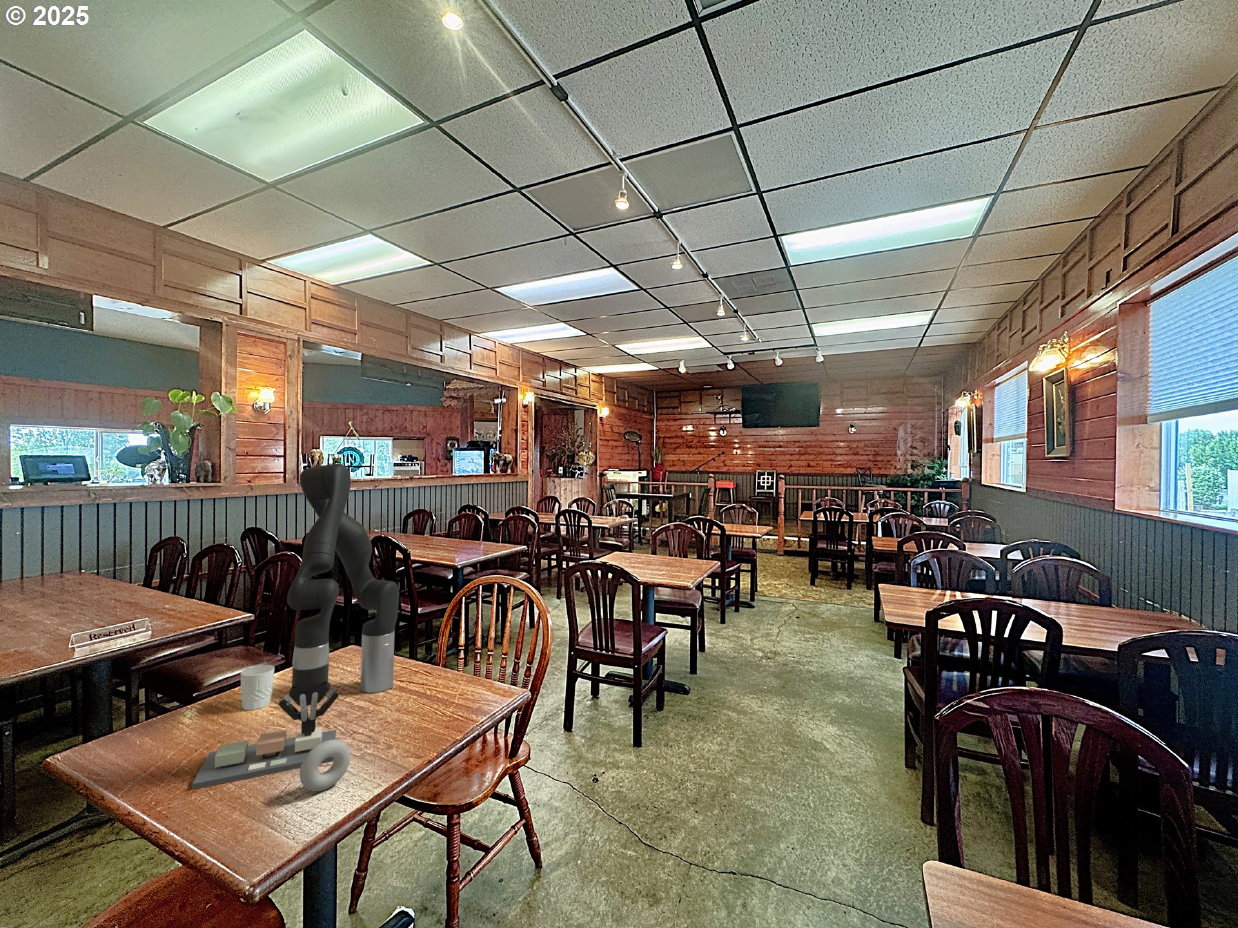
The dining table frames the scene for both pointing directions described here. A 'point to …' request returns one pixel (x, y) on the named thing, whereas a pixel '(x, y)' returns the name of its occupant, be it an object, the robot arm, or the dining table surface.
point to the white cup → (256, 686)
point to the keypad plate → (255, 764)
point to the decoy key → (271, 743)
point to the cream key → (308, 740)
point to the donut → (333, 774)
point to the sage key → (231, 753)
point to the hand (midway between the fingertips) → (308, 734)
